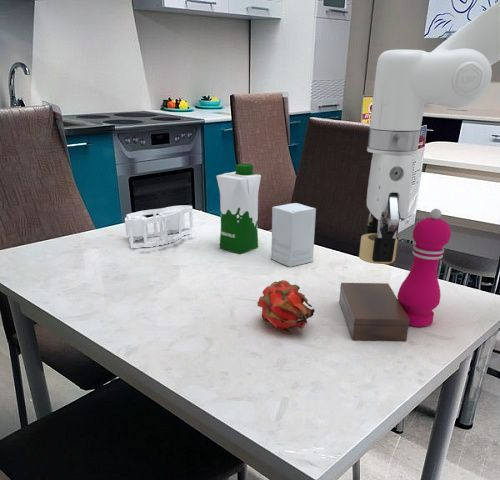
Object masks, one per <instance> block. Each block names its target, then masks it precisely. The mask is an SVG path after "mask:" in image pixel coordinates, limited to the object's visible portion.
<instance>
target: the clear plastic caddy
mask: <svg viewBox="0 0 500 480" xmlns="http://www.w3.org/2000/svg"><path fill="white" fill-rule="evenodd" d="M186 213H188V214H189V227H186V223H185V222H186V221H185V214H186ZM148 215H149V216H150V215H152V217H148V218H147V216H148ZM157 215H158V216H157ZM158 223H159V231H158ZM124 224H125V225H124V226H125V235H126V236H128V237H129V238H128V242H129V243H128V244H130V249H133V248H137V249H139V248H138V247H151V248H154V247H153V246H156V247H160V246H159V245H162V246H165V245H164V244H166V245H169V244H172V243H171V242H174V243H176V242H177V241H179V240H181V239H183V237H185V236H184V235H186V236H189V235H188V234H191V233H193V234H194V220H193V205H185V204H183V205H172V206H167V207H161V208H154V209H153V208H152V209H146V210H140V211H136V212H131V213H127V214H126V216H125V218H124ZM148 224H153V232H150V233H149V228H148V226H149V225H148ZM175 232H179V233H175ZM170 233H173V234H170ZM168 234H169V235H168ZM163 235H164V236H163ZM191 235H192V234H191ZM153 236H159V240H157V241H151V242H148V238H147V237H152V238H154V237H153ZM182 236H183V237H182ZM142 238H144V239H142ZM180 238H181V239H180ZM138 239H142V240H143V242H138V243H135V242H136V241H135V240H138ZM178 239H179V240H178ZM176 240H177V241H176ZM133 241H134V242H133ZM138 241H139V240H138ZM175 241H176V242H175ZM168 243H169V244H168Z"/></svg>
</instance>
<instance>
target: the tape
mask: <svg viewBox="0 0 500 480" xmlns="http://www.w3.org/2000/svg"><path fill="white" fill-rule="evenodd" d="M375 237H377V233H370V234H366V233H365V234H362V235H361V236H360V244H359V253H358V258H359V260H360V261H362V262H366V263H370V264H375V265H389V264H392V263H394V262H395V261H396V257H397V249H398V243H399V239H398V238H397V237H396V239H395V246H394V253H393V259H392V261H391V262H374V261H373V260H372V256H373V248H374V241H375Z"/></svg>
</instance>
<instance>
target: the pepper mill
mask: <svg viewBox="0 0 500 480" xmlns="http://www.w3.org/2000/svg"><path fill="white" fill-rule="evenodd" d="M441 217H442V211H441V209H439V208H433V209H432V210H431V211H430V212H429V217H426V218H423V219H420V220H419V221H418V222H417V223H416V224H415V226H414V227H413V230H412V240H413V241H414V242H415V244H414V245H413V247H412V248H413V250H412V252H411V253H412V255H413V262H412V266H411V268H410V271H409V272H408V274H407V276H406V278H405V279H404V280H403V281H402V283H401V285H400V287H399V289H398V292H397V295H396V297H397V299H398V301H399V302H400V304H401V306H402V307H403V309H404V311H405V312H406V314H407V316H408V317H409V319H410V322H409V327H410V326H411V327H417V328H422V327H428V326H431V324H433V320H434V315H435V313H434V311H433V310H435V309H436V308H438V307H439V305H440V303H441V295H442V294H441V287H440V283H439V278H438V267H439V262H440V260H441V259H442V258H443V257H444V255H443V254H444V253H445V248H444V247H445V246H446V245H447V244H448V243H449V242H450V240H451V237H452V236H451V235H452V229H451V226H450V224H449V223H448V222H447V221H445V220H444V219H443V218H441Z"/></svg>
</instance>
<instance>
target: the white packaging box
mask: <svg viewBox="0 0 500 480" xmlns="http://www.w3.org/2000/svg"><path fill="white" fill-rule="evenodd" d="M316 213H317V208H316V207H313V206H312V207H311V206H308V205H304V204H301V203H298V202H293V203H286V204H282V205H276V206H272V209H271V215H272V216H271V247H270V249H271V253H270V259H271V260H273V261H275V262H278V263H280V264H282V265H284V266H287V267H288V268H290V267H291V268H292V267H296V266H300V265H305V264H309V263H313V261H314V249H315V248H314V247H315V233H316V232H315V231H316V230H315V229H316Z"/></svg>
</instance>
